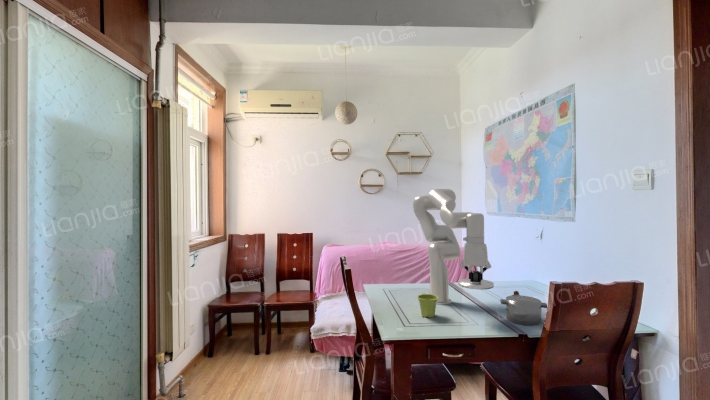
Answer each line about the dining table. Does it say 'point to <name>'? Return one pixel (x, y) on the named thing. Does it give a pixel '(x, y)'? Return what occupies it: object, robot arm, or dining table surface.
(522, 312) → the pot
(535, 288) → the dining table surface
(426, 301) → the plant pot
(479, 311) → the dining table surface
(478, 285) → the lid
